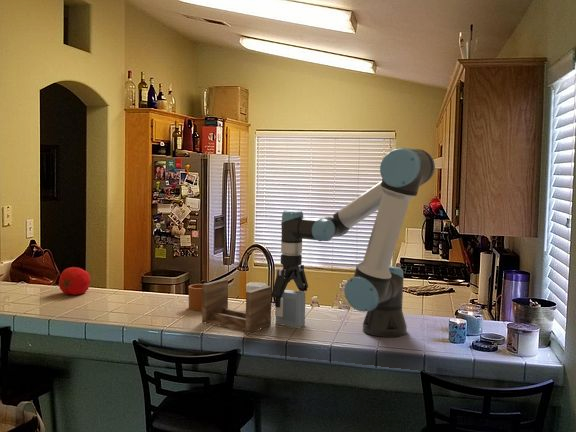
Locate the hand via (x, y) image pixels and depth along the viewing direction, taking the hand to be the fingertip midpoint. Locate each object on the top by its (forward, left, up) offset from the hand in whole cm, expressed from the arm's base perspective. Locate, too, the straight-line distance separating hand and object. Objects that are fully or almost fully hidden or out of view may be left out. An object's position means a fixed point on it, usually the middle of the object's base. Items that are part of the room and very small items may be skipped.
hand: (289, 312), depth 212 cm
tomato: (+101, +17, -5) cm, 102 cm away
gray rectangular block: (0, 0, -5) cm, 5 cm away
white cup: (+23, -10, -5) cm, 25 cm away
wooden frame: (+16, +11, -5) cm, 20 cm away
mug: (+40, +2, -5) cm, 40 cm away
